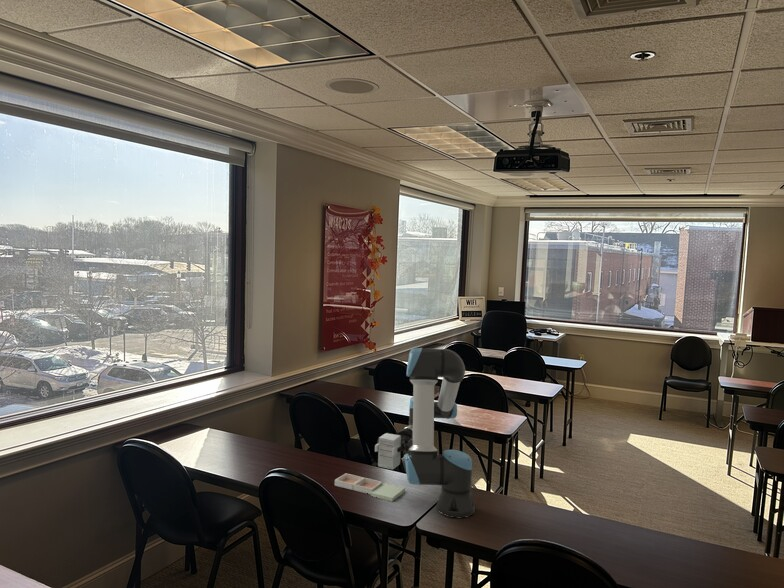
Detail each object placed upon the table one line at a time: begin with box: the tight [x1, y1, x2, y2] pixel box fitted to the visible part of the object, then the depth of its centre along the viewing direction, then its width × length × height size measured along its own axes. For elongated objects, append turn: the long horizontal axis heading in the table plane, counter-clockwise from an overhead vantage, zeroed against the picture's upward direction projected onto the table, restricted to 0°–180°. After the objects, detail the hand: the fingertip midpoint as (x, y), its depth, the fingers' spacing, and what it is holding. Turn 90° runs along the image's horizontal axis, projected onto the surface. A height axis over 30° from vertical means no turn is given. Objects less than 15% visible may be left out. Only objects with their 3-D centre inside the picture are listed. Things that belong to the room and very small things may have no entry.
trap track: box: [334, 473, 406, 502], centre depth 240 cm, size 29×12×2 cm, turn 63°
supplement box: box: [377, 432, 401, 470], centre depth 235 cm, size 7×7×13 cm
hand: (384, 450), depth 231 cm, fingers closed on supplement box, 7 cm apart
